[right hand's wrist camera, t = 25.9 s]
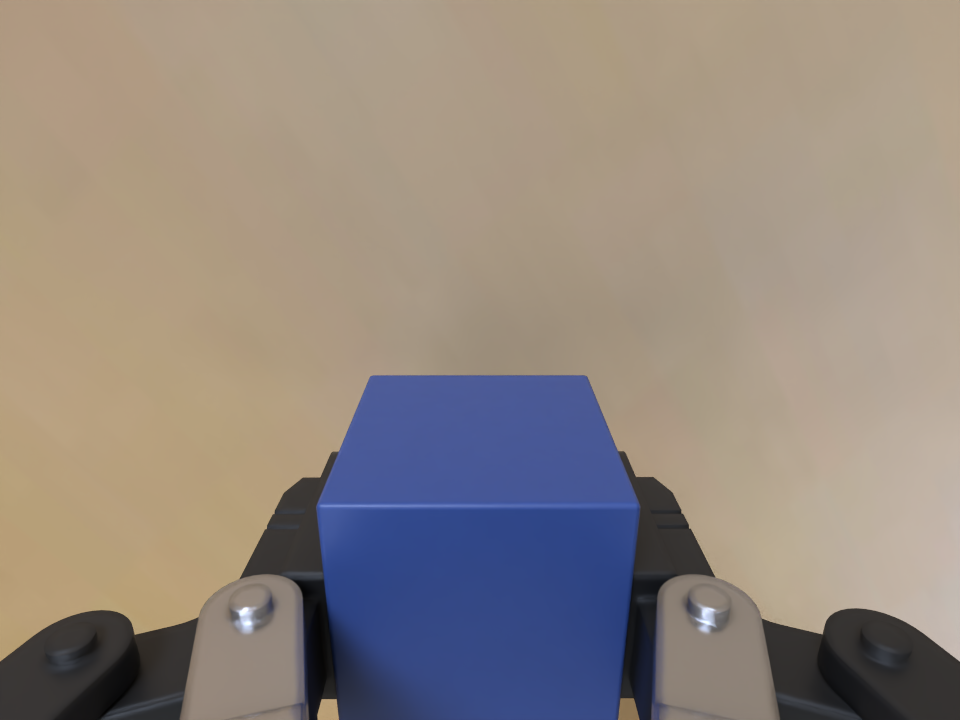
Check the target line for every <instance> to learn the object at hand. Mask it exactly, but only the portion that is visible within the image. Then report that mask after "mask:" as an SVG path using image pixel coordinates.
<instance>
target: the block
mask: <svg viewBox="0 0 960 720" xmlns="http://www.w3.org/2000/svg"><path fill="white" fill-rule="evenodd" d="M316 510H317V519H318V528H319V538H320V547H321V556H322V566H323V575H324V584H325V594H326V603H327V612H328V622H329V631H330V640H331V650H332V659H333V668H334V678H335V687H336V696H337V706H338V715H339V720H618V715H619V706H620V696H621V687H622V678H623V668H624V659H625V649H626V640H627V630H628V621H629V611H630V602H631V592H632V583H633V573H634V564H635V554H636V545H637V535H638V526H639V516H640V504H639V502H638V499H637V497H636V494H635V492H634V489H633V487H632V484H631V482H630V480H629V477H628V475H627V472H626V470H625V467H624V465H623V463H622V460H621V458H620V455H619V453H618V450H617V448H616V446H615V443H614V441H613V438H612V436H611V433H610V431H609V429H608V426H607V424H606V421H605V419H604V416H603V414H602V412H601V409H600V407H599V404H598V402H597V399H596V397H595V394H594V392H593V390H592V387H591V385H590V382H589V380H588V377H587V376H371V377H370V378H369V381H368V383H367V385H366V388H365V390H364V393H363V395H362V397H361V400H360V402H359V405H358V407H357V410H356V412H355V414H354V417H353V419H352V422H351V424H350V426H349V429H348V431H347V434H346V436H345V438H344V441H343V443H342V446H341V448H340V450H339V453H338V455H337V458H336V460H335V462H334V465H333V467H332V470H331V472H330V474H329V477H328V479H327V482H326V484H325V487H324V489H323V491H322V494H321V496H320V499H319V501H318V503H317V506H316Z"/></svg>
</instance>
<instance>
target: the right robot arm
mask: <svg viewBox="0 0 960 720" xmlns="http://www.w3.org/2000/svg"><path fill="white" fill-rule="evenodd" d="M338 453H339V452H332V453H331V455H330V457H329V459H328V461H327V464H326V466H325V468H324V471H323V473H322V475H321V477H320V478H302V479H301V480H300V481H298V482H297V483H296V484H295V485H293V486H292V487H291V488H290V489H288V490H287V491H286V492H285V493H284V494H283V496H282V498H281V500H280V502H279V504H278V506H277V508H276V509H275V514H273V515H272V517H271V519H270V521H269V523H268V525H267V529H265V531H264V533H263V535H262V537H261V539H260V541H259V542H258V544H257V546H256V548H255V550H254V552H253V554H252V556H251V558H250V560H249V562H248V564H247V566H246V568H245V570H244V572H243V573H242V575H241V577H240V579H239V580H236V581H234V582H232V583H230V584H228V585H226V586H224V587H222V588H221V589H220V590H218V591H217V592H215V593H214V594H213V595H212V596H211V597H210V598H209V599H208V600H207V602H206V603H205V604H204V606H203V607H202V609H201V611H200V614H199V617H198V618H196V619H193V620H191V621H188V622H185V623H182V624H179V625H175V626H171V627H167V628H162V629H158V630H154V631H150V632H145V633H141V634H137V635H135V634H134V630H133V627H132V623H131V622H130V620H129V619H128V618H127V617H126V616H124V615H123V614H120V613H118V612H114V611H105V610H99V611H90V612H84V613H80V614H76V615H73V616H70V617H67V618H65V619H62V620H60V621H58V622H56V623H54V624H52V625H50V626H48V627H46V628H45V629H43V630H41V631H40V632H39V633H37V634H36V635H34V636H33V637H32V638H30V639H29V640H28V641H26V642H25V643H24V644H23V645H21V646H20V647H19V648H17V649H16V650H15V651H14V652H12V653H11V654H10V655H8V656H7V657H6V658H4V659H3V660H2V661H1V662H0V720H318V719H317V714H318V710H319V706H320V703H321V699H337V696H336V687H335V678H334V668H333V659H332V650H331V640H330V631H329V622H328V612H327V603H326V594H325V584H324V575H323V566H322V556H321V547H320V538H319V528H318V519H317V510H316V506H317V503H318V501H319V499H320V496H321V494H322V491H323V489H324V487H325V484H326V482H327V479H328V477H329V474H330V472H331V470H332V467H333V465H334V462H335V460H336V458H337V455H338ZM618 453H619V455H620V458H621V460H622V463H623V465H624V467H625V470H626V472H627V475H628V477H629V480H630V482H631V484H632V487H633V489H634V492H635V494H636V497H637V499H638V502H639V504H640V516H639V526H638V535H637V545H636V554H635V564H634V573H633V583H632V592H631V602H630V611H629V621H628V630H627V640H626V649H625V659H624V668H623V678H622V687H621V696H620V698H634V700H635V704H636V707H637V711H638V715H639V719H640V720H960V662H959V661H958V660H957V659H956V658H954V657H953V656H952V655H950V654H949V653H948V652H946V651H945V650H944V649H943V648H941V647H940V646H939V645H937V644H936V643H935V642H934V641H932V640H931V639H930V638H928V637H927V636H926V635H924V634H923V633H922V632H920V631H919V630H917V629H916V628H914V627H913V626H911V625H909V624H908V623H906V622H904V621H902V620H900V619H897V618H895V617H893V616H890V615H887V614H884V613H881V612H877V611H873V610H867V609H857V608H855V609H845V610H840V611H838V612H835V613H834V614H832V615H831V616H830V617H829V618H828V619H827V621H826V624H825V627H824V631H823V635H822V634H818V633H814V632H809V631H805V630H801V629H796V628H792V627H788V626H784V625H780V624H776V623H772V622H769V621H767V620H764V619H762V618H761V615H760V611H759V609H758V607H757V606H756V604H755V603H754V602H753V600H752V599H751V598H750V597H749V596H748V595H747V594H746V593H745V592H743V591H742V590H740V589H739V588H737V587H736V586H734V585H732V584H730V583H728V582H726V581H724V580H721V579H718V578H715V576H714V574H713V572H712V570H711V568H710V566H709V564H708V562H707V560H706V558H705V556H704V554H703V552H702V550H701V548H700V546H699V544H698V542H697V540H696V538H695V536H694V534H693V532H692V530H691V529H689V524H688V522H687V521H686V519H685V517H684V515H683V514H681V509H680V507H679V505H678V503H677V501H676V499H675V497H674V495H673V493H672V492H671V491H670V490H669V489H667V488H666V487H665V486H664V485H662V484H661V483H660V482H659V481H657V480H656V479H655V478H654V477H636V476H635V474H634V472H633V469H632V467H631V465H630V462H629V460H628V458H627V455H626V453H625V452H624V451H618Z"/></svg>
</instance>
